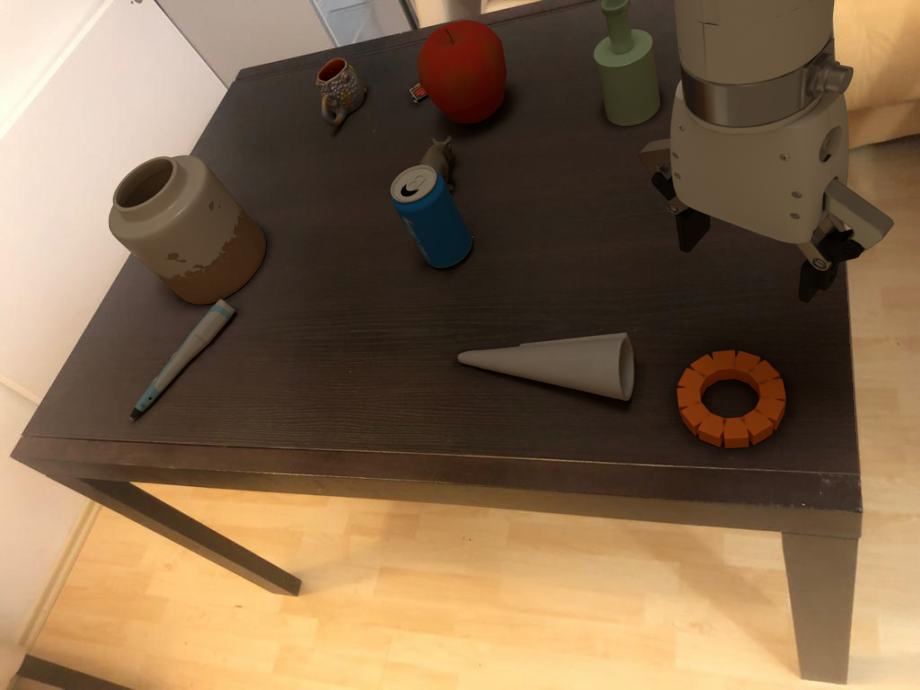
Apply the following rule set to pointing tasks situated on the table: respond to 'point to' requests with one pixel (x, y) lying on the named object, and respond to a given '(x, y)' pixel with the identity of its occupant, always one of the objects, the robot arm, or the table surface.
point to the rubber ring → (731, 429)
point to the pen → (186, 352)
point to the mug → (339, 90)
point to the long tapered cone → (567, 363)
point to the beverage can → (431, 216)
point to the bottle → (626, 68)
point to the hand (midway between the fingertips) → (751, 262)
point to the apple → (463, 70)
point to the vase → (186, 228)
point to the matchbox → (418, 92)
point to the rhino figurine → (439, 158)
